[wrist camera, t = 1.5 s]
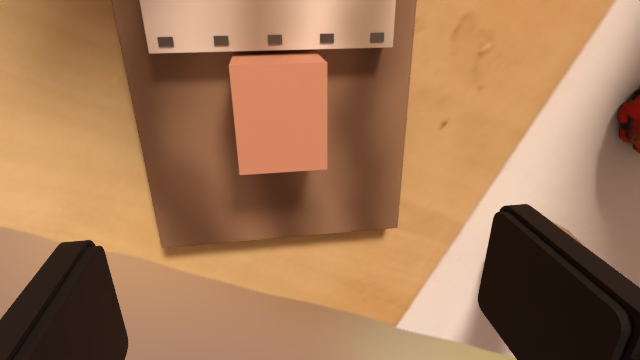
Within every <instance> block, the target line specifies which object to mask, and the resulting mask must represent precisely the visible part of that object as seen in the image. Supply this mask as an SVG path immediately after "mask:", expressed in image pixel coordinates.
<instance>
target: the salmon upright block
mask: <svg viewBox="0 0 640 360" xmlns="http://www.w3.org/2000/svg"><path fill="white" fill-rule="evenodd" d="M229 73H230V83H231V93H232V103H233V113H234V123H235V133H236V143H237V153H238V163H239V174H240V175H249V174H265V173H280V172H296V171H311V170H326V169H327V62H326V61H325V60H324V59H323V58H322V57H321V56H320V55H319V54H317V53H316V52H315V51H284V52H246V53H233V56H232V58H231V61H230V64H229Z"/></svg>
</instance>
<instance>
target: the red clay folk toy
mask: <svg viewBox="0 0 640 360" xmlns="http://www.w3.org/2000/svg"><path fill="white" fill-rule="evenodd" d="M618 120H619V122H620V130H619V136H620V138H621V139H622V140H623V141H625V142H630V143H633V148H634V149H635V150H636V151H637V152H639V153H640V88H639V89H638V90H637V91H635V93H634V99H631V100H630V99H629V100H627V101H626V102H625V103H624V104H623V105H622V106H621V108H620V110H619V112H618Z"/></svg>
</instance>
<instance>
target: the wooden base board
mask: <svg viewBox="0 0 640 360" xmlns="http://www.w3.org/2000/svg"><path fill="white" fill-rule="evenodd" d="M416 2H417V0H112V5H113V10H114V15H115V20H116V24H117V29H118V34H119V39H120V44H121V49H122V54H123V59H124V64H125V69H126V73H127V78H128V83H129V88H130V93H131V98H132V103H133V108H134V113H135V118H136V123H137V127H138V132H139V137H140V142H141V147H142V152H143V157H144V162H145V167H146V172H147V176H148V181H149V186H150V191H151V196H152V201H153V206H154V211H155V216H156V221H157V226H158V230H159V235H160V240H161V245H162V248H167V247H179V246H191V245H202V244H214V243H226V242H237V241H249V240H261V239H272V238H284V237H296V236H307V235H319V234H331V233H342V232H354V231H366V230H378V229H389V228H397V226H398V214H399V203H400V191H401V179H402V167H403V155H404V144H405V132H406V120H407V108H408V97H409V85H410V73H411V61H412V49H413V38H414V26H415V14H416ZM284 51H315V52H316V53H317V54H319V55H320V56H321V57H322V58H323V59H324V60H325V61H326V62H327V169H326V170H311V171H296V172H280V173H265V174H249V175H240V174H239V163H238V153H237V143H236V133H235V123H234V113H233V103H232V93H231V83H230V73H229V64H230V61H231V58H232V56H233V53H246V52H284Z"/></svg>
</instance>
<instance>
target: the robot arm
mask: <svg viewBox="0 0 640 360" xmlns="http://www.w3.org/2000/svg"><path fill="white" fill-rule="evenodd" d="M478 303H479V306H480V309H481V311H482V312H483V314H484V315H485V316H486V318H487V319H488V320H489V322H490V323H491V324H492V326H493V327H494V329H495V330H496V331H497V333H498V334H499V335H500V337H501V338H502V339H503V341H504V342H505V344H506V345H507V346H508V348H509V349H510V350H511V352H512V353H513V355H514V356H515V357H516V359H517V360H640V288H639V287H638V286H636V285H635V284H634V283H632V282H631V281H630V280H628V279H627V278H626V277H624V276H623V275H622V274H621V273H619V272H618V271H617V270H615V269H614V268H613V267H611V266H610V265H609V264H607V263H606V262H605V261H603V260H602V259H601V258H599V257H598V256H597V255H595V254H594V253H593V252H591V251H590V250H589V249H587V248H586V247H585V246H583V245H582V244H581V243H579V242H578V241H577V240H575V239H574V238H573V237H571V236H570V235H569V234H567V233H566V232H565V231H563V230H562V229H561V228H559V227H558V226H557V225H555V224H554V223H553V222H551V221H550V220H549V219H547V218H546V217H545V216H543V215H542V214H541V213H539V212H538V211H537V210H535V209H534V208H533V207H531V206H530V205H528V204H521V205H509V206H504V207H502V208H501V209H500V211H499V212H497V213H496V214H495V215H494V218H493V223H492V228H491V233H490V238H489V243H488V248H487V253H486V259H485V264H484V269H483V274H482V279H481V284H480V289H479V294H478ZM127 349H128V337H127V333H126V329H125V325H124V322H123V318H122V314H121V310H120V307H119V303H118V299H117V296H116V292H115V288H114V284H113V281H112V277H111V273H110V270H109V266H108V263H107V259H106V255H105V252H104V249H103V247H102V246H95V244H94V243H93V241H91V240H86V241H74V242H63V243H60V244H59V246H58V247H57V248H56V249H55V250H54V252H53V253H52V254H51V255H50V257H49V258H48V259H47V261H46V262H45V263H44V264H43V266H42V267H41V268H40V270H39V271H38V272H37V273H36V275H35V276H34V277H33V279H32V280H31V281H30V282H29V284H28V285H27V286H26V287H25V289H24V290H23V291H22V293H21V294H20V295H19V296H18V298H17V299H16V300H15V302H14V303H13V304H12V305H11V307H10V308H9V309H8V311H7V312H6V313H5V314H4V316H3V317H2V318H1V320H0V360H125V356H126V353H127Z"/></svg>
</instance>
